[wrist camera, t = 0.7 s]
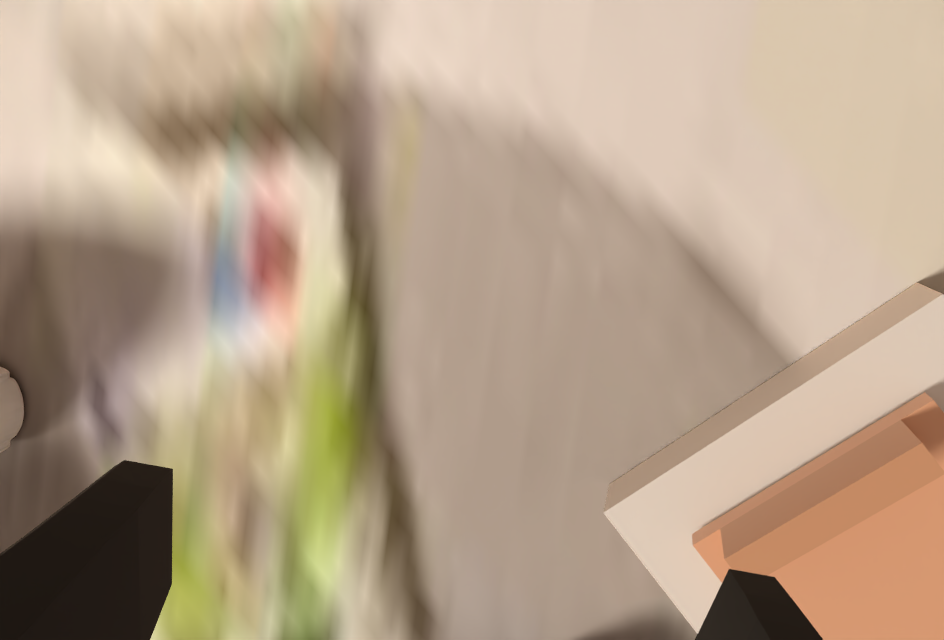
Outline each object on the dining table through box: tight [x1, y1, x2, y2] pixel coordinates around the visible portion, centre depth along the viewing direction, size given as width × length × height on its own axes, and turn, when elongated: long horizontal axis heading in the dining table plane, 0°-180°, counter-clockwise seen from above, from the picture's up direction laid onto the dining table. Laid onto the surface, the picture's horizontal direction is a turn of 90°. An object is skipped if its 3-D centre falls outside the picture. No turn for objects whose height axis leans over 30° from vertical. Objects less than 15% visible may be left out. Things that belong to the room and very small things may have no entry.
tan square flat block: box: [692, 392, 944, 640], centre depth 23 cm, size 8×8×3 cm
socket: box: [603, 283, 944, 634], centre depth 26 cm, size 12×12×2 cm
